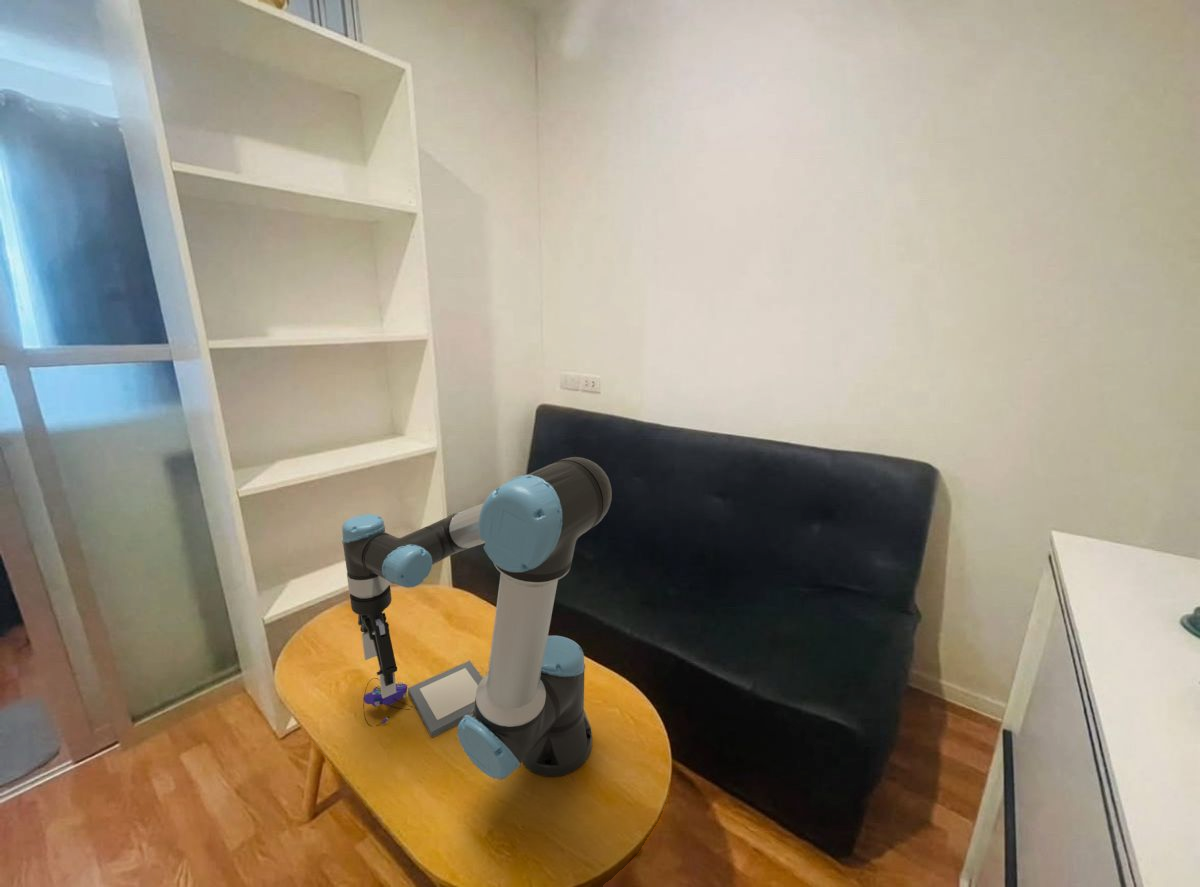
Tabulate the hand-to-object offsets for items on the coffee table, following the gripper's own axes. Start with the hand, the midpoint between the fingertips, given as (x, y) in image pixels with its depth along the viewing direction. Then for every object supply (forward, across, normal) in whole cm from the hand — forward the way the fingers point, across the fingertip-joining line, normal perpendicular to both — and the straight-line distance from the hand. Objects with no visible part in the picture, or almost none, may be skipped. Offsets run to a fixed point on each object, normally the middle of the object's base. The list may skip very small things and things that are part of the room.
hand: (379, 674), depth 105 cm
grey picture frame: (+9, -6, -13) cm, 17 cm away
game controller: (+9, -1, -1) cm, 9 cm away
